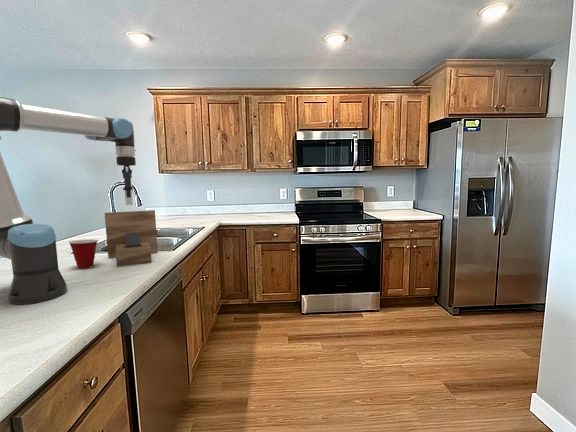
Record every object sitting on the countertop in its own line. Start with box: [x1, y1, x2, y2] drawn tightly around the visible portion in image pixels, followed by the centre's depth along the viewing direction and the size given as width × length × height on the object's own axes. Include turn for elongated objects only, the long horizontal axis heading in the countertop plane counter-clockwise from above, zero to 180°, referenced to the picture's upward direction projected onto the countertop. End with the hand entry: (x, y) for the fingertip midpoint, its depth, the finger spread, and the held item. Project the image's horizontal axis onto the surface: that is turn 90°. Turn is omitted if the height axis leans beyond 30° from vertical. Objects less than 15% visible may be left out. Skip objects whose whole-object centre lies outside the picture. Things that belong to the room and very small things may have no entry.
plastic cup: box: [68, 238, 99, 270], centre depth 134 cm, size 11×11×12 cm
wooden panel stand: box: [104, 209, 158, 268], centre depth 145 cm, size 20×22×22 cm
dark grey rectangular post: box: [125, 233, 141, 248], centre depth 143 cm, size 3×6×12 cm, turn 117°
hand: (129, 203), depth 140 cm, fingers open, 13 cm apart
